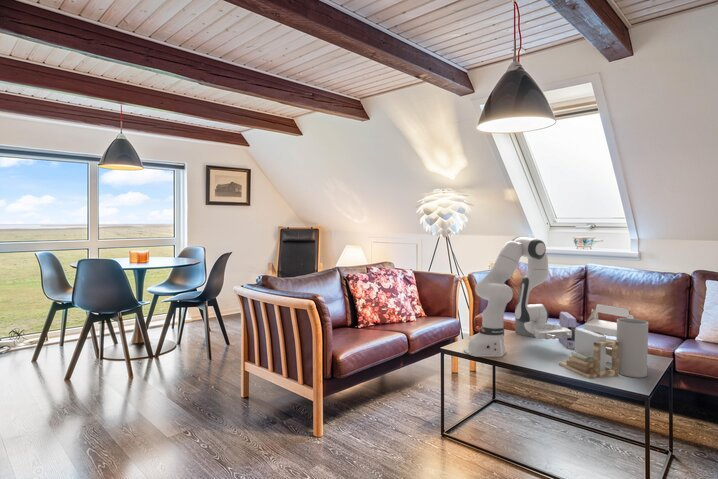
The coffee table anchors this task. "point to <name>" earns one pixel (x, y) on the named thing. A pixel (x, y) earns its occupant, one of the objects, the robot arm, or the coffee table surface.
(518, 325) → the hip flask
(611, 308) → the gable box
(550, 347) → the coffee table surface
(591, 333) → the tall board
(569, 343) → the cake pan box
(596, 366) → the rack
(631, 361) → the cylinder vase
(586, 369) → the offcut stack
